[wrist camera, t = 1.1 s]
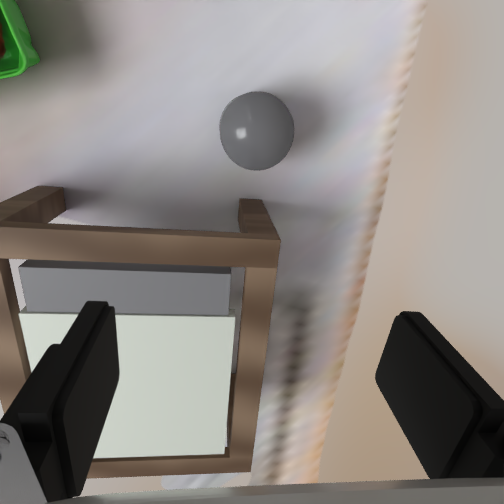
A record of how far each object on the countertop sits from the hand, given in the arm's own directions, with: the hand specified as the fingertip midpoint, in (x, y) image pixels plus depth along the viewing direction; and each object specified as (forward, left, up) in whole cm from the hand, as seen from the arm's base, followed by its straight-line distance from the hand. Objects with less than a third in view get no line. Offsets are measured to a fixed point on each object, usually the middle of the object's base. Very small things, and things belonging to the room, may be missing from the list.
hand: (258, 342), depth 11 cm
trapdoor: (+12, -7, -12) cm, 18 cm away
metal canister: (-6, +1, -21) cm, 22 cm away
